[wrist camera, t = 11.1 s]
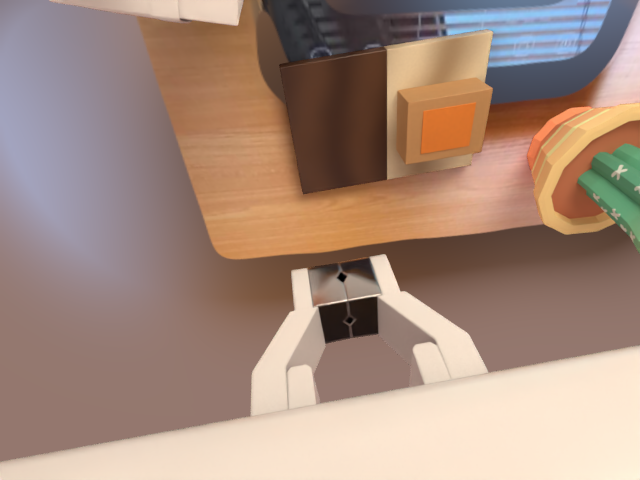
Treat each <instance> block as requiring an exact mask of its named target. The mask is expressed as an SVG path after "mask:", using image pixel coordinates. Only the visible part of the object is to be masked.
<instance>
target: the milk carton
mask: <svg viewBox="0 0 640 480" xmlns="http://www.w3.org/2000/svg"><path fill="white" fill-rule="evenodd" d="M49 1H51V2H55V3H62V4H69V5H74V6H80V7H84V8H90V9H95V10H100V11H106V12H114V13H119V14H126V15H133V16H140V17H147V18H154V19H159V20H163V21H170V22H177V23H190V22H191V21H192V20H195V21H202V22H210V23H217V24H225V25H233V26H238V22H239V18H240V14H241V10H242V6H243V2H244V0H49Z"/></svg>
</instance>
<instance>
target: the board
mask: <svg viewBox="0 0 640 480" xmlns="http://www.w3.org/2000/svg"><path fill="white" fill-rule="evenodd" d="M492 35H493V32H492V31H490V30H488V29H485V30H479V31H473V32H468V33H462V34H456V35H450V36H444V37H438V38H432V39H426V40H420V41H414V42H408V43H402V44H396V45H390V46H385V47H379V48H373V49H367V50H361V51H355V52H349V53H343V54H337V55H331V56H325V57H319V58H313V59H307V60H301V61H295V62H289V63H284V64H280V65H279V66H280V71H281V77H282V83H283V88H284V93H285V99H286V104H287V110H288V115H289V121H290V126H291V132H292V137H293V143H294V148H295V154H296V159H297V165H298V170H299V175H300V181H301V186H302V192H303V194H307V193H313V192H318V191H324V190H330V189H336V188H341V187H347V186H353V185H359V184H365V183H370V182H376V181H382V180H387V179H394V178H400V177H405V176H411V175H417V174H423V173H428V172H434V171H440V170H446V169H451V168H457V167H463V166H469V165H471V161H472V155H473V154H467V155H461V156H455V157H449V158H443V159H437V160H431V161H426V162H420V163H414V164H408V165H406V164H405V163H404V161H403V160H402V158H401V156H400V155H399V153H398V152H397V150H396V140H397V91H398V90H402V89H408V88H414V87H420V86H426V85H433V84H439V83H445V82H451V81H457V80H463V79H469V78H475V77H476V78H478V79H479V80H481V81H482V82H484V83H485V77H486V71H487V65H488V59H489V53H490V47H491V41H492Z"/></svg>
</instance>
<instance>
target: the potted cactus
mask: <svg viewBox="0 0 640 480" xmlns="http://www.w3.org/2000/svg"><path fill="white" fill-rule="evenodd" d="M527 159H528V163H529V167H530V170H532V176H533V181H534V185H535V188H534V191H533V193H534V197H535V201H536V205H537V209H538V213H539V216H540V218H541V220H542V222H543V223H544V224H545V225H547V226H549V227H551V228H553V229H555V230H557V231H559V232H561V233H563V234H565V235H567V234H576V233H586V232H595V231H599V230H601V229H603V228H606V227H608V226H610V225H612V224H614V223H617V224H618V225H619V226H620V227H621V228H622V229H623V230H624V231H625V232H626V233H627V234H628V235H629V236H630V237H631V239H632V241H633V243H634V245H635V246H636V248H637V250H638V252H639V253H640V103H632V104H620V105H618V106H614V107H602V108H591V107H578V108H570V109H568V110H566V111H564V112H563V113H561V114H559V115H557V116H555V117H553V118H552V119H550V120H549V121H548V122H547V123H546V124H545V125H544V126H543V127H542V128H541V130H540V131H539V132H538V133H537V134H536V135H535V136H534V137H533V140H532V143H531V145H530V148H529V151H528V154H527Z"/></svg>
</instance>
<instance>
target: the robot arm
mask: <svg viewBox="0 0 640 480" xmlns="http://www.w3.org/2000/svg"><path fill="white" fill-rule="evenodd" d="M291 277H292V288H293V300H294V311H291V312H289V314H288V316H287V317H286V319H285V320H284V322H283V324H282V325H281V327H280V328H279V330H278V332H277V333H276V335H275V336H274V338H273V340H272V341H271V343H270V344H269V346H268V348H267V349H266V351H265V352H264V354H263V355H262V357H261V359H260V360H259V362H258V363H257V365H256V367H255V368H254V370H253V372H252V387H251V416H249V417H244V418H238V419H232V420H227V421H221V422H216V423H211V424H205V425H199V426H194V427H188V428H183V429H178V430H172V431H167V432H162V433H156V434H150V435H145V436H139V437H134V438H128V439H123V440H117V441H112V442H106V443H101V444H95V445H90V446H84V447H79V448H73V449H68V450H62V451H57V452H51V453H46V454H40V455H35V456H29V457H24V458H18V459H13V460H7V461H2V462H0V480H640V345H637V346H632V347H626V348H621V349H616V350H610V351H605V352H599V353H594V354H588V355H583V356H578V357H572V358H566V359H561V360H555V361H550V362H545V363H539V364H533V365H528V366H522V367H517V368H511V369H506V370H501V371H495V372H490V373H489V372H488V370H487V369H486V367H485V365H484V363H483V361H482V359H481V357H480V355H479V353H478V351H477V349H476V347H475V346H474V343H473V342H472V340H471V338H470V336H469V334H468V333H466V332H465V331H463V330H462V329H460V328H459V327H457V326H456V325H454V324H453V323H452V322H450V321H449V320H447V319H446V318H444V317H443V316H441V315H440V314H438V313H437V312H435V311H434V310H432V309H431V308H429V307H428V306H426V305H425V304H423V303H422V302H421V301H419V300H417V299H416V298H415V297H413V296H412V295H410V294H409V293H407V292H406V291H403V292H400V289H399V287H398V284H397V281H396V279H395V277H394V274H393V271H392V269H391V266H390V264H389V261H388V259H387V256H386V255H385V254H382V255H377V256H371V257H369V258H368V257H366V258H361V259H356V260H350V261H345V262H339V263H335V264H329V265H321V266H315V267H308V269H307V268H304V269H297V270H292V272H291ZM376 334H379V336H380V337H381V338H382V339H383V340H384V341H385V342H386V343H387V344H388V345H389V346H390V347H391V348H392V349H393V350H394V351H395V352H396V353H397V354H398V355H399V356H400V357H401V358H402V359H404V360H405V361H406V362H407V363H408V364H409V365H410V366H411V370H410V383H409V387H407V388H402V389H397V390H391V391H386V392H380V393H375V394H369V395H364V396H359V397H353V398H348V399H342V400H336V401H331V402H326V403H320V399H319V395H318V391H317V387H316V384H315V380H314V376H313V374H314V372H315V369H316V367H317V364H318V362H319V360H320V358H321V355H322V353H323V350H324V348H325V346H326V345H325V344H326V343H331V342H336V341H341V340H346V339H350V338H356V337H363V336H370V335H376Z"/></svg>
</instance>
